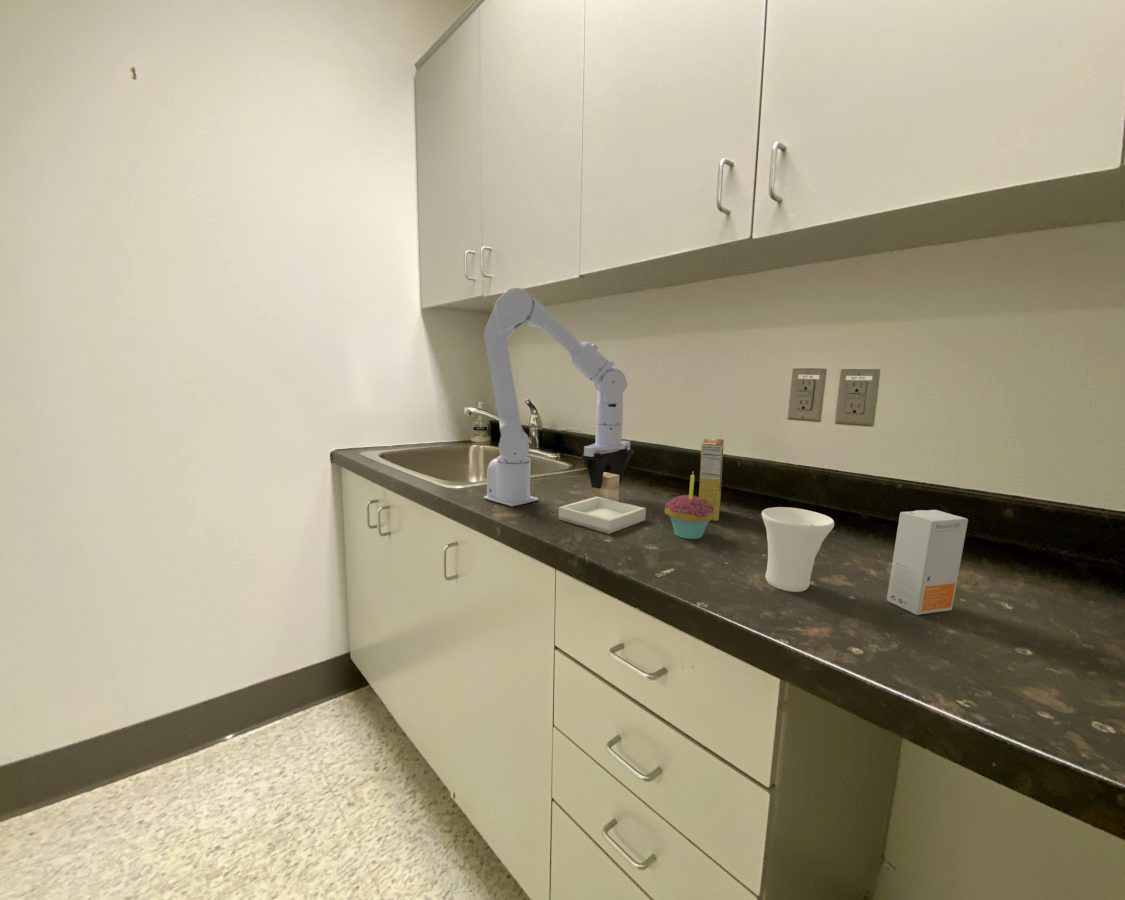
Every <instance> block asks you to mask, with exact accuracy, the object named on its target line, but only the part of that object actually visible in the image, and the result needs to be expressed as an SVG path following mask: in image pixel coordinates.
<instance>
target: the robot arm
mask: <svg viewBox="0 0 1125 900" xmlns="http://www.w3.org/2000/svg"><path fill="white" fill-rule="evenodd" d="M527 321H528V324H527V326H529V327H534V328H539V329H541V330H543V331H544V332H545V333H546V334H547V335H548V336H549V337H550V338H552V339H553V340H554V341H555V342H556V343H557V344H559V345H560V346H561V348H563V349H564V350H565V351H567V352H568V354H569V363H570V364H571V365H573V366H574V368H576V369H577V371H579V372H580V373H581V374H582V375H583V376H584V377H585V378H586V379H587V380H589V382H591V383H593V382H594V388H595V389H596V390H597V402H596V409H595V410H596V412H595V413H596V415H595V417H596V418H595V443H591V444H589V445H585V446H583V454H581V460H582V461H583V463H584V465H585V467H586V470H587V471H588V476H589V481H590V484H591V488H593V489H594V488H598V489H600V488H601V486H602V480H603V472H604V471H605V467H606V465H607V462H608V460H609V462H610V473H612V474H617V475H619V484H622V480H623V478H624V476H625V474H624V473H625V471H626V469H627V466H628V463H629V462H630V460H631V458H632V456H633V451H630V450H631V441H627V440H622V438H623V437H622V435H623V419H624V418H623V417H624V416H623V415H624V414H623V412H624V402H623V399H624V392H625V391H626V389H627V386H628V381H627V379H626V375H625V374H624V372H623V371H622V370H620V369H619V368H613V366H614V365H615V363H614V361H612V360H608V359H607V358H606V357H605V356H604V355H603V354H602V353H601V352H600V351H598V350H599V346H598V345H597V344H596V343H590V342H589V341H579V340H578V339H577V338H576V336H574V335H573V333H571V332H570V331H569V330H568V328H567V327H566V326H564V324H563V323H562V322H560V320H559V319H558V318H557V317H556V316H555V315H554V314H553V313H552V312H551V311H550V310H549V309H548V308H547V307H546V306H545V305H543V304H542V303H541V302H540V301H539V300H537V299H536V298H535V297H532V298H531V295H530V294H529V293H528V292H527V290H525V289H524V288H520V287H511V288H509V289H507V290H505V291H504V293H503V294H502V295H501V296H500V297H499V298H498V299H497V300H496V301H495V303H494V306H493V309H492V311H491V313H490V316H489V318H488V320H487V324H486V326H485V328H484V330H483V340H484V344H485V349H486V356H487V360H488V366H489V367H488V368H489V372H490V377H491V383H492V384H491V385H492V387H493V388H492V389H493V395H494V399H495V400H494V401H495V405H496V406H495V407H496V411H497V414H498V415H497V417H498V424H499V432H500V438H499V442H498V451H499V456H497V457H496V458H493V459H492V460H491V461H490V462H489V464H488V466H487V470H486V495H484V496H483V499H485V500H489V501H492V502H496V503H499V504H503V505H506V506H509V507H515V506H517V507H518V506H520V505H523V504H529V503H531V502H536V501H539V497H536V496H532V495H531V457H529V456H528V454H529V451H530V443H529V437H528V435H527V433H526V432H525V430H524V429H523V427H522V423H521V422H522V421H521V416H520V415H521V414H520V411H519V405H518V399H517V394H516V388H515V383H514V377H513V369H512V365H511V364H512V363H511V359H510V354H509V347H508V340H509V338H510V337H511V335H512V334H513V333H514V332H515V329H517V328H519V327H520V326H521V325H523V324H524V323H526V322H527ZM603 454H608V457H609V458H608V457H603V456H602V455H603Z"/></svg>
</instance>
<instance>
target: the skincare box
mask: <svg viewBox="0 0 1125 900" xmlns="http://www.w3.org/2000/svg"><path fill="white" fill-rule="evenodd" d="M968 523H969V519H968V518H966V517H963V516H959V515H954V514H952V513H948V512H945V511H941V510H938V509H929V510H925V509H924V510H923V509H920V510H919V509H917V510H913V511H912V510H911V511H900V513H899V517H898V525H897V530H896V537H895V544H894V550H893V556H892V563H891V570H890V573H889V574H890V576H889V581H888V587H887V594H886V595H887V596H886V601H887V602H889V603H891V604H893V605H895V606H897V607H899V608H901V609H903V610H906V611H907V612H910V613H911V614H913V615H915V616H920V615H924V614H932V613H941V612H950V611H952V610H953V607H954V601H955V595H956V588H957V584H958V583H957V582H958V577H959V572H960V568H961V567H960V566H961V561H962V555H963V549H964V543H965V539H966V533H967V528H968Z"/></svg>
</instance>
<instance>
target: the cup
mask: <svg viewBox="0 0 1125 900" xmlns="http://www.w3.org/2000/svg"><path fill="white" fill-rule="evenodd" d="M761 517H762V521H763V523H764V526H765V529H766V542H767V565H766V571H765V575H764V577H765V580H766V582H767V584H769V585H770V586H772V587H773V588H776V589H778V590H782V591H785V592H792V593H801V592H804V591H807V589H808V588H809V587H810V583H811V576H812V572H813V567H814V565H815V564H814V563H815V559H816V556H817V555H818V552H819V551H820V550H821V547H822V543H823V542H824V540H825V539H826V537H828V536H829V533H831V531H833V528H834V526H835V521H834V519H833V518H831V517H830V516H828V515H826V514H824V513H823V514H822V513H820V512H816V511H812V510H808V509H803V508H798V507H797V508H796V507H786V506H783V507H782V506H776V507H768V508H765V509H763V510H762V511H761Z"/></svg>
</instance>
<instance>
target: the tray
mask: <svg viewBox="0 0 1125 900" xmlns="http://www.w3.org/2000/svg"><path fill="white" fill-rule="evenodd" d="M646 511H647V507H642V506H638V505H634V504H629V503H626V502H621V501H619V500H618V501H614V500H609V499H605V498H601V497H593V496H592V497H591V498H587V499H583V500H580V501H577V502H573V503H569V504H568V503H567V504H565V505H562V506H559V507H558V519H557V520H559V521H562V522H566V523H570V524H573V525H576V526H581V527H585V528H588V529H589V530H594V531H597V532H600V533H605V534H606V535H607V534H608V535H611V534H613V533H615V532H617V531H620V530H623V529H626V528H629V527H630V526H633V525H636V524H638V523H642V522H644V521H646V514H647V513H646Z"/></svg>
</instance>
